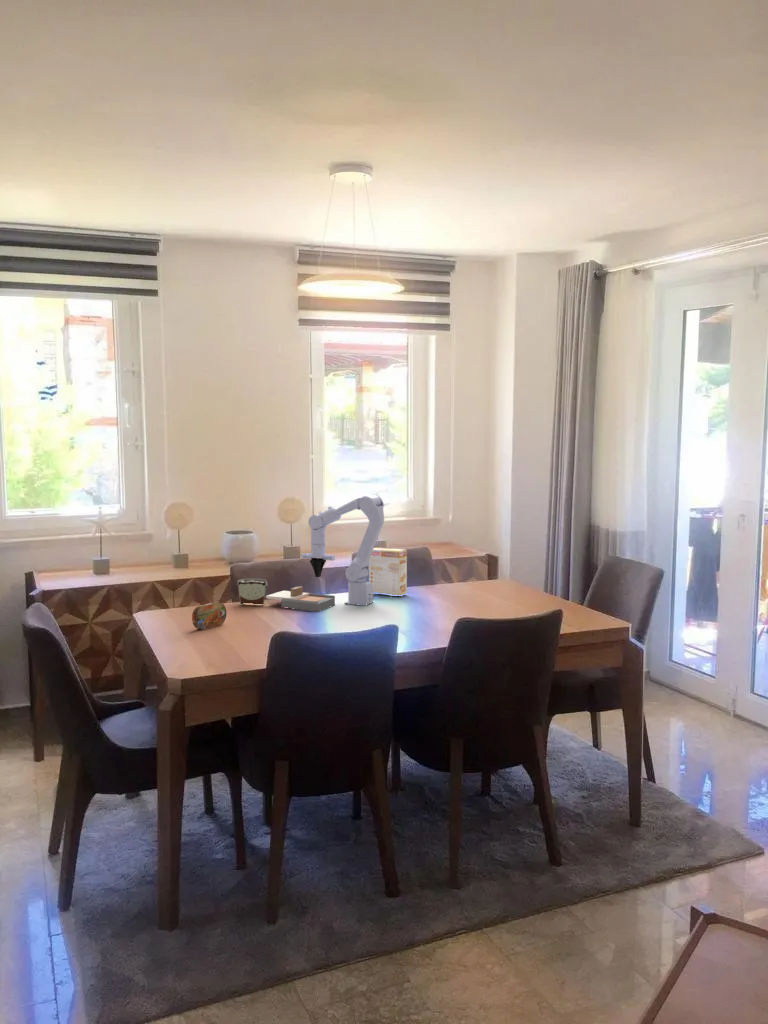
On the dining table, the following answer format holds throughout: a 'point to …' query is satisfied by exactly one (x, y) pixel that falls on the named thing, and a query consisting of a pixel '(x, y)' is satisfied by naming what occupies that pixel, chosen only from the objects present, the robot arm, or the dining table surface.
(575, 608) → the dining table surface
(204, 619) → the tin
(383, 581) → the coffeecake box
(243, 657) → the dining table surface
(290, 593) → the cover
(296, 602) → the box
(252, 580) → the food container
